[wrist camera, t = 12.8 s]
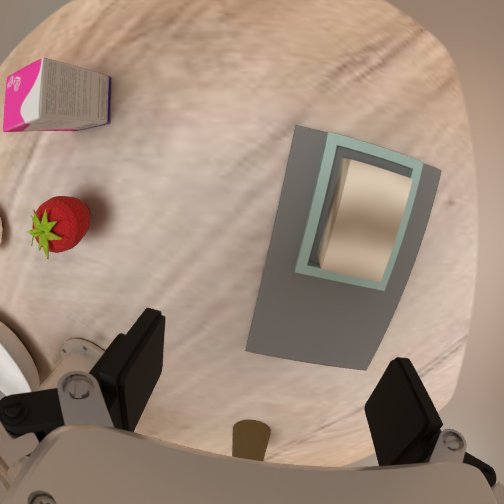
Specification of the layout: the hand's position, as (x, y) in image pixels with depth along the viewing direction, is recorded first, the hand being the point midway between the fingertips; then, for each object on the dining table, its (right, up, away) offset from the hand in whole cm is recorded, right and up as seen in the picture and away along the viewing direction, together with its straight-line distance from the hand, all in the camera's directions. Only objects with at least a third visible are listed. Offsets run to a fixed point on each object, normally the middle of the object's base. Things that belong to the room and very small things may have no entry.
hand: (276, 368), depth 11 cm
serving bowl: (-49, -15, +33) cm, 61 cm away
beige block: (+10, +8, +17) cm, 21 cm away
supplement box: (-19, +21, +16) cm, 33 cm away
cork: (-1, -24, +31) cm, 39 cm away
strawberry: (-21, +9, +21) cm, 31 cm away
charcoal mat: (+9, +3, +20) cm, 22 cm away
